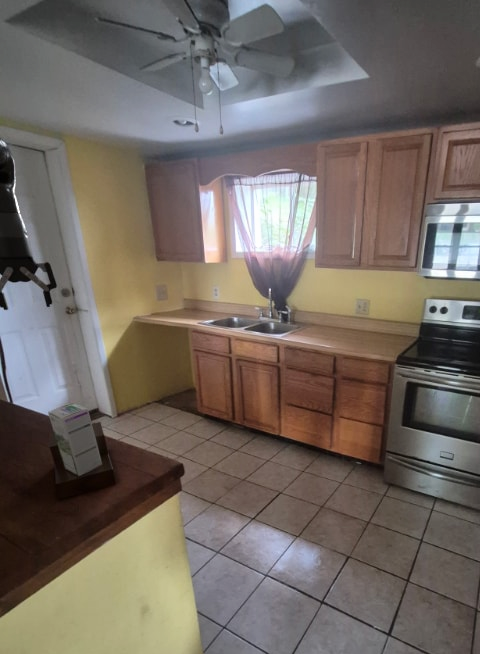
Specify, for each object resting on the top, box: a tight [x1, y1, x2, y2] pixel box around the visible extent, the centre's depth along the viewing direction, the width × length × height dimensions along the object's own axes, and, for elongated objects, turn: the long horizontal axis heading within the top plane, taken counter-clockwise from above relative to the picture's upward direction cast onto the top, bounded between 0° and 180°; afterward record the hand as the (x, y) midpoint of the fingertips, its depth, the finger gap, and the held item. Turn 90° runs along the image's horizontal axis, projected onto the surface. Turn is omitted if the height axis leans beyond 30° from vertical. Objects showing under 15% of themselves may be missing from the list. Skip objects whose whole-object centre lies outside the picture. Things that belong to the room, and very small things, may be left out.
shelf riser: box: [49, 421, 117, 500], centre depth 87 cm, size 11×16×9 cm
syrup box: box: [47, 403, 102, 476], centre depth 81 cm, size 6×6×14 cm
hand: (27, 308), depth 90 cm, fingers open, 8 cm apart
